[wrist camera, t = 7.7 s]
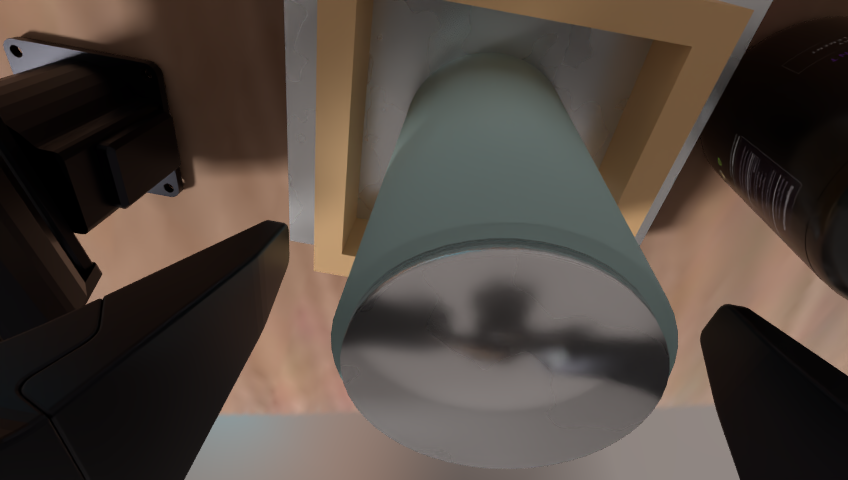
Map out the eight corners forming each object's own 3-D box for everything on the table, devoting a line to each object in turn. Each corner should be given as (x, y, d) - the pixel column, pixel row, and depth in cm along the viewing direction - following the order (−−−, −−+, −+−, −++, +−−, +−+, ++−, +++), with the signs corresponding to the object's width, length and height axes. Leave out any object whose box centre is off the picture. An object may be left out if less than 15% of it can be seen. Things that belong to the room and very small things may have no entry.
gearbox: (316, 195, 22) (267, 277, 17) (322, -129, 15) (239, -164, 10) (591, 244, 22) (628, 341, 17) (727, -51, 15) (866, -43, 10)
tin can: (396, 190, 17) (320, 447, 8) (416, 37, 14) (330, 203, 5) (536, 215, 17) (601, 495, 9) (588, 69, 14) (774, 282, 5)
